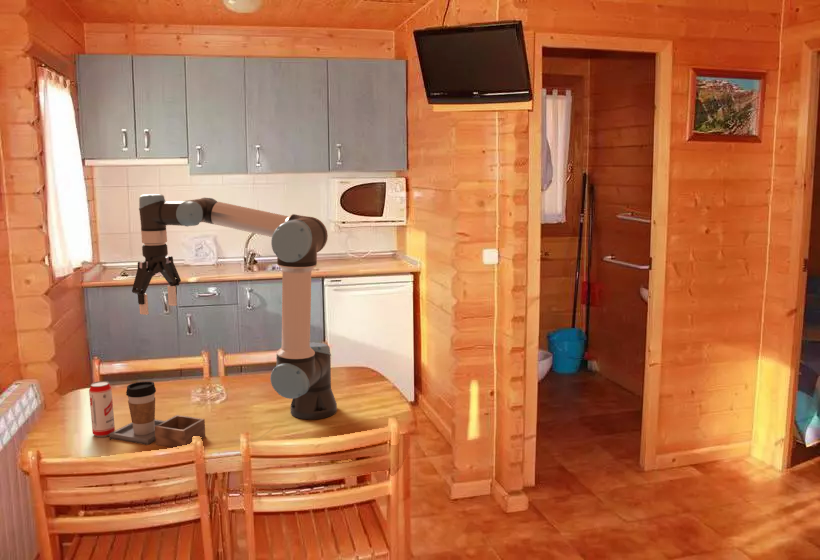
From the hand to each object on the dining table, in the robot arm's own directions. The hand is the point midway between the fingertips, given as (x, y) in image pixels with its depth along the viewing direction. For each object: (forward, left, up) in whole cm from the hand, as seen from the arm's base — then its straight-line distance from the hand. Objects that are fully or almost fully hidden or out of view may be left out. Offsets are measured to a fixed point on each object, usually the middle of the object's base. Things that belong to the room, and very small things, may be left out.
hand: (158, 309), depth 232 cm
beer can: (+6, +21, -35) cm, 41 cm away
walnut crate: (-20, +18, -35) cm, 44 cm away
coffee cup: (-6, +17, -34) cm, 38 cm away
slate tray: (-6, +17, -35) cm, 39 cm away
